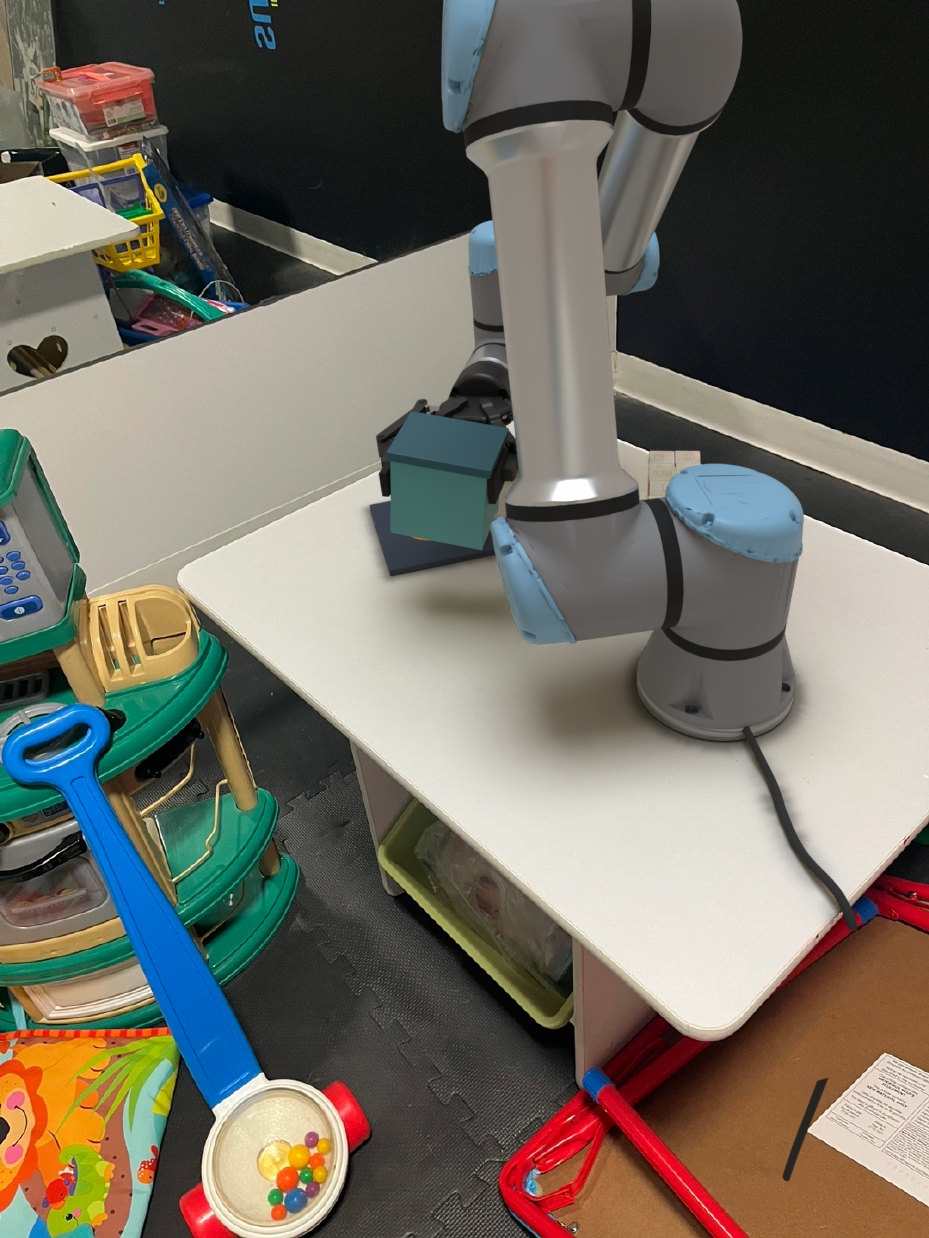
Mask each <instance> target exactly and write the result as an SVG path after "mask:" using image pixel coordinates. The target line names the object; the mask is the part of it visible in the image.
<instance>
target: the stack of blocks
mask: <svg viewBox="0 0 929 1238" xmlns="http://www.w3.org/2000/svg"><path fill="white" fill-rule="evenodd" d="M701 464H702V463H701V451H700V450H674V451H673V450H649V451H648V465H647V466H648V469H647V493H646V495H647V497H646V499H653V498H661V497H665V490H666V487H667V486H668V484H669V482H670V480H671V479H672V477H673V476H674V475H676V474H677V473H680V472H681V471H682V470H683V469H685V468H688V467H691V466H695V465H701Z"/></svg>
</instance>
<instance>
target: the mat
mask: <svg viewBox="0 0 929 1238" xmlns="http://www.w3.org/2000/svg"><path fill="white" fill-rule="evenodd" d="M369 510H370V515H371V517H372V520H373V523H374V527H375V531H376V533H377V536H378V540H379V543H380V547H381V550H382V553H383V556H384V559H385V562H386V567H387V570H388V572H389V576H391V577H392V576H397V575H402V574H406V573H410V572H416V571H421V570H425V569H430V568H434V567H439V566H444V565H451V564H455V563H459V562H464V561H468V560H473V559H478V558H483V557H488V556H492V555H495V550H494V546H493V539H492V534H491V530H490V531H489V533H488V536H487V538H486V541H485V543H484V546H483V549H482V550H478V549H473V548H468V547H463V546H458V545H453V544H447V543H442V542H437V541H432V540H427V539H422V538H417V537H411V536H406V535H401V534H396V533H391V500H386V501H382V502H376V503H372V504H369Z"/></svg>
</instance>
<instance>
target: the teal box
mask: <svg viewBox="0 0 929 1238" xmlns="http://www.w3.org/2000/svg"><path fill="white" fill-rule="evenodd" d="M509 431H510V428H509V427H507V428H505V427H499V426H493V425H488V424H482V423H476V422H470V421H464V420H459V419H453V418H447V417H441V416H436V415H430V414H424V413H418V412H413V411H411V413H410V414H409V416H408V418H407V419H406V421H405V423H404V424H403V426H402V428H401V429H400V431H399V432H398V434H397V436H396V437H395V439H394V441H393V442H392V444H391V446H390V447H389V449H388V451H387V461H390V480H391V495H390V501H391V533H396V534H401V535H406V536H411V537H417V538H422V539H427V540H432V541H437V542H442V543H447V544H453V545H458V546H463V547H468V548H473V549H478V550H482V549H483V546H484V543H485V541H486V538H487V536H488V533H489V531H490V525H491V523H492V522H493V521H494V520H495V517H496V515H497V513H498V510H499V504H500V497H499V498H498V500H497V502H496V504H488V492H487V479H491V476H492V474H493V471H494V469H495V467H496V464H497V462H498V460H499V457H500V455H501V453H502V450H503V448H504V445H505V443H506V441H507V438H508V435H509Z"/></svg>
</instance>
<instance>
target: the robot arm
mask: <svg viewBox="0 0 929 1238" xmlns="http://www.w3.org/2000/svg"><path fill="white" fill-rule="evenodd" d="M442 4H443V5H442V23H441V24H442V25H441V26H442V27H441V29H442V30H441V101H442V103H441V104H442V122H443V127H444V129H446V130H447V131H451V132H453V133H455V134H458V133H461V131H462V132H463V138H464V139H463V140H464V147H465V154H466V157H467V158H468V159H469V160H470V161H471V162H472V163H474V165H476V166H477V167H478V168H479V169H481V170H482V171H483V173H484V174H485V176H486V177H487V180H488V191H489V201H490V209H491V210H490V211H491V219H492V220H488V221H484V222H482V223H479V224H477V225H475V227H474V228H472V230H471V231H470V233H469V235H468V242H467V243H468V267H467V268H468V275H469V284H470V295H471V307H472V320H473V321H472V323H473V324H472V325H473V337H474V349H473V351H472V353H471V355H470V356H469V357H468V359H467V361H466V363H465V364H464V366H463V368H462V370H461V372H460V374H459V375H458V377H457V378H456V380H455V381H454V384H453V385H452V387H451V390H450V392H449V395H448V398H447V399H446V400H445V401H443V402H442V403H441V402H440V404H439V405H430V404H428V400H427V399H425V398H420V399H417V400H416V402H415V404H414V406H413V407H412V408H411V409H410V410H408V411H407V412H405V413H404V414H403V415H402V416H400V417H399V418H398V419H396V420H395V421H394V422H392V423H391V424H390V425H388V426H387V427H385V428H384V429H383V430H381V431H380V432H379V433H378V434H376V435H375V441H376V446H377V453H378V457H379V458H380V463H381V469H380V470H379V472H378V479H379V480H378V481H379V485H380V492H381V497H385V498H390V497H391V480H390V461H387V451H388V449H389V447H390V446H391V444H392V442H393V441H394V439H395V437H396V436H397V434H398V432H399V431H400V429H401V428H402V426H403V424H404V423H405V421H406V419H407V418H408V416H409V414H410V413H411V411H413V412H418V413H424V414H430V415H436V416H441V417H447V418H453V419H459V420H464V421H470V422H476V423H482V424H488V425H493V426H499V427H505V428H508V427H507V426H509V425H510V424H511V423H512V422H513V427H514V434H512V432H511V431H510V430H509V435H508V438H507V441H506V443H505V445H504V448H503V450H502V453H501V455H500V457H499V460H498V462H497V464H496V467H495V469H494V471H493V474H492V476H491V479H487V492H488V504H496V502H497V500H498V498H499V499H500V495H501V493H502V490H503V488H504V485H505V483H506V482H508V483H509V482H510V483H512V482H514V481H515V480H516V481H515V482H514V483H513V484H512V486H511V487H510V488H509V489H508V490H507V492H506V493H505V494H504V496H503V497H504V507H505V517H504V516H499V517H497V519H494V520H493V522H492V523H491V525H490V530H491V534H492V539H493V546H494V550H495V554H494V555H495V559H496V563H497V567H498V571H499V575H500V579H501V582H502V586H503V590H504V593H505V597H506V600H507V604H508V606H509V610H510V613H511V615H512V619H513V621H514V625H515V627H516V629H517V631H518V633H519V635H520V636H521V638H523V639H524V640H525V641H526V642H528V643H530V644H532V645H551V644H552V645H553V644H564V643H569V644H572V645H573V644H577V642H580V641H588V640H594V639H600V638H602V639H603V638H608V637H615V636H623V635H629V634H635V633H643V632H651V631H652V632H651V635H650V637H649V639H648V641H647V643H646V644H645V647H644V648H643V650H642V652H641V654H640V656H639V660H638V663H637V670H636V688H637V694H638V696H639V699H640V701H641V702H642V704H643V706H645V708H646V709H647V710H648V711H649V713H650V714H651V715H652V716H653V717H654V718H656V719H657V720H658V721H659V722H661V723H662V724H664V725H665V726H667V727H669V728H670V729H672V730H674V731H676V732H679V733H681V734H684V735H687V736H690V737H693V738H696V739H697V738H698V739H702V740H708V741H709V740H710V741H720V742H721V741H722V742H724V741H725V742H729V741H731V742H732V741H740V740H746V742H747V744H748V746H749V747H750V750H751V751H752V753H753V756H754V758H755V759H756V762H757V763H758V766H759V767H760V769H761V771H762V773H763V775H764V777H765V780H766V782H767V784H768V787H769V789H770V792H771V795H772V798H773V801H774V805H775V808H776V811H777V814H778V817H779V819H780V821H781V824H782V826H783V829H784V832H785V834H786V836H787V839H788V840H789V842H790V844H791V845H792V847H793V849H794V851H795V853H796V855H798V857H799V859H800V860H801V861H802V863H803V864H804V865H805V866H806V867H807V869H808V870H809V871H810V872H811V873H812V874H813V875H814V876H815V877H816V878H817V879H818V880H819V881H820V882H821V884H823V885H824V886H825V888H827V889H828V891H829V892H830V893H831V895H832V896H833V898H834V899H835V900H836V902H837V904H838V907H839V908H840V910H841V913H842V916H843V918H844V921H845V924H846V927H847V929H849V930H850V931H852V932H857V931H858V928H859V927H858V923H857V919H856V916H855V914H854V911H853V909H852V906H851V903H850V901H849V900H848V899H847V897H846V895H845V893H844V892H843V890H842V889H841V888H840V886H839V885H838V883H836V881H835V880H834V879H833V878H832V877H831V875H829V874H828V873H827V872H826V871H825V870H824V869H823V868H822V867H821V866H820V865H819V864H818V863H817V862H816V860H814V858H813V857H812V856H811V855H810V854H809V852H808V851H807V850H806V848H805V847H804V844H803V843H802V842H801V839H800V838H799V836H798V833H797V832H796V829H795V827H794V825H793V822H792V820H791V818H790V815H789V813H788V810H787V807H786V803H785V801H784V797H783V794H782V791H781V787H780V786H779V783H778V781H777V779H776V777H775V775H774V772H773V771H772V768H771V767H770V765H769V763H768V760H766V757H765V755H764V753H763V751H762V749H761V747H760V745H759V743H758V741H757V739H756V737H757V736H759V735H763V734H765V733H767V732H769V731H771V730H772V729H774V728H775V727H776V726H778V725H779V724H780V723H782V722H783V720H785V718H786V717H787V715H788V714H789V712H790V711H791V708H792V706H793V701H794V697H795V692H796V673H795V669H794V665H793V661H792V657H791V652H790V648H789V645H788V641H787V636H786V629H787V626H788V625H787V624H788V619H789V614H790V610H791V609H790V608H791V603H792V598H793V592H794V587H795V582H796V577H797V570H798V565H799V559H800V557H801V556H802V554H803V550H804V543H803V535H804V523H805V522H804V521H805V515H804V510H803V507H802V504H801V502H800V500H799V498H798V497H797V496H796V495H795V494H794V492H793V491H792V490H791V489H790V488H789V487H788V486H786V485H785V484H783V483H782V482H781V481H779V480H778V479H776V478H774V477H772V476H770V475H768V474H765V473H763V472H759V471H757V470H755V469H752V468H748V467H745V466H740V465H735V464H727V463H705V464H703V463H701V465H695V466H691V467H688V468H685V469H683V470H682V471H681V472H680V473H677V474H676V475H674V476H673V477H672V479H671V480H670V482H669V484H668V486H667V487H666V490H665V497H661V498H653V499H647V498H646V499H640V487H639V482H638V480H637V479H636V478H634V477H633V476H632V475H631V474H630V473H629V472H628V471H626V470H625V469H624V468H623V467H622V466H621V464H620V460H619V446H618V434H617V432H618V431H617V420H616V419H617V418H616V407H615V393H614V392H615V391H614V381H613V380H614V379H613V367H612V354H611V353H612V352H611V340H610V328H609V314H608V313H609V312H608V301H607V297H612V296H613V297H614V296H619V297H621V296H628V295H630V294H632V293H637V292H642V291H647V290H649V289H651V288H652V287H653V286H655V283H656V282H657V280H658V273H659V271H658V270H659V268H660V246H659V241H658V237H657V233H656V232H655V231H656V229H657V227H658V225H659V223H660V220H661V219H662V216H663V214H664V211H665V209H666V207H667V204H668V202H669V200H670V198H671V196H672V193H673V192H674V189H675V187H676V184H677V182H678V181H679V178H680V175H681V173H682V171H683V169H684V167H685V165H686V163H687V160H688V159H689V157H690V154H691V151H692V150H693V148H694V145H695V143H696V141H697V139H698V136H699V134H700V133H701V132H703V131H704V130H705V129H708V128H709V127H710V126H712V124H713V123H714V122H715V121H716V120H717V119H718V118H719V116H720V115H721V113H722V112H723V110H724V108H725V107H726V104H727V102H728V100H729V97H730V95H731V93H732V91H733V89H734V88H735V83H736V80H737V77H738V73H739V70H740V67H741V59H742V51H743V28H742V19H741V12H740V7H739V4H738V2H737V0H443V3H442ZM613 112H617V115H616V117H615V118H616V119H615V121H614V113H613ZM607 145H608V146H607ZM606 146H607V148H606V151H605V156H604V159H603V162H602V165H601V169H600V171H599V176H598V167H597V163H598V157H599V156H600V155H601V153H602V151H603V150H604V149H605V147H606ZM517 475H518V477H517ZM516 478H517V479H516ZM828 1081H829V1077H825V1078H821V1079H818V1080H816V1083H815V1084H814V1088H813V1091H812V1093H811V1096H810V1097H809V1098H810V1099H809V1101H808V1103H807V1106H806V1109H805V1112H804V1113H803V1117H802V1119H801V1122H800V1125H799V1127H798V1129H797V1133H796V1135H795V1138H794V1141H793V1143H792V1146H791V1148H790V1152H789V1155H788V1157H787V1160H786V1162H785V1163H786V1164H785V1166H784V1170H783V1172H782V1179H783V1181H785V1182H790V1180H791V1177H792V1174H793V1171H794V1169H795V1165H796V1163H797V1160H798V1157H799V1155H800V1152H801V1149H802V1146H803V1144H804V1141H805V1139H806V1136H807V1133H808V1131H809V1128H810V1126H811V1124H812V1121H813V1118H814V1115H815V1114H816V1111H817V1108H818V1107H819V1104H820V1102H821V1099H822V1096H823V1093H824V1091H825V1089H826V1086H827V1083H828Z"/></svg>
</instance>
